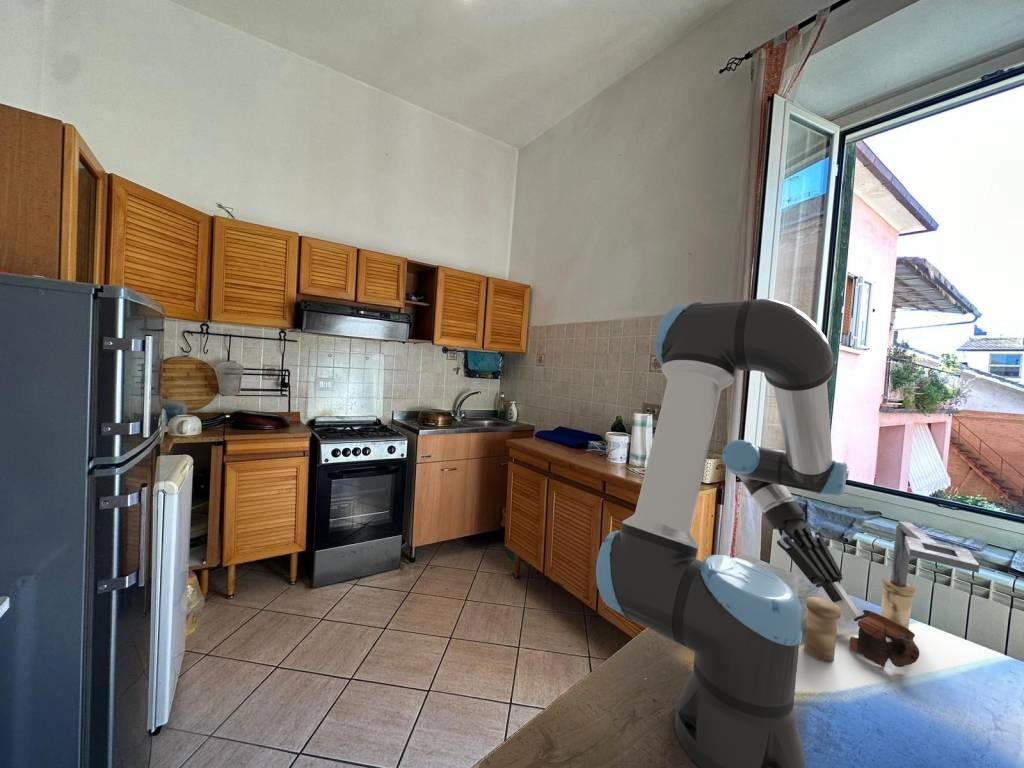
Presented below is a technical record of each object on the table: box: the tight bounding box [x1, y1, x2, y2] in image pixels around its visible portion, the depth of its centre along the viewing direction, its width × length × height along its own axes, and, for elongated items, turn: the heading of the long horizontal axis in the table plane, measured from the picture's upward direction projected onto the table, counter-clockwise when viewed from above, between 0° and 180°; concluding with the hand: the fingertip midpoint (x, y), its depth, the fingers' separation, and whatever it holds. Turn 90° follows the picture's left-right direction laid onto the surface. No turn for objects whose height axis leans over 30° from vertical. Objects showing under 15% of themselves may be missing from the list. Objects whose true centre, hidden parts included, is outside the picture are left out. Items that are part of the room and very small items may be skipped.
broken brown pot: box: [849, 609, 920, 668], centre depth 76 cm, size 12×10×8 cm
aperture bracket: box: [879, 520, 980, 630], centre depth 78 cm, size 10×22×22 cm, turn 141°
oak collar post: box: [803, 596, 842, 663], centre depth 76 cm, size 5×5×9 cm
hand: (853, 618), depth 83 cm, fingers closed
